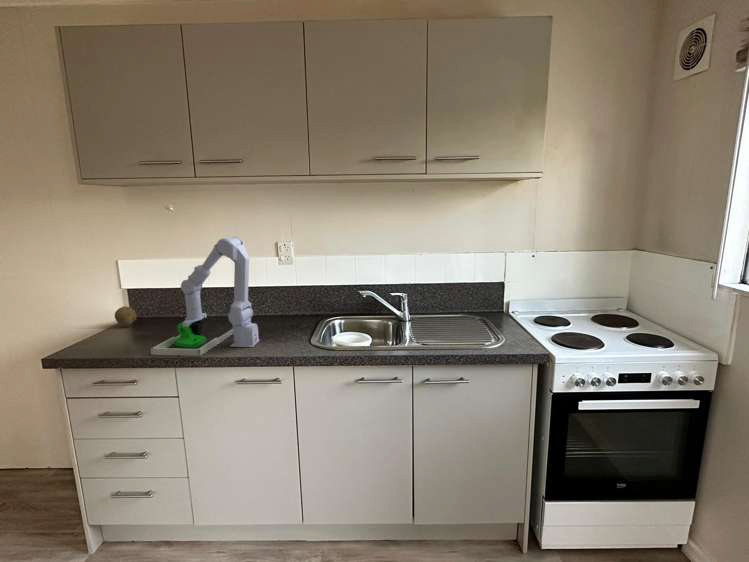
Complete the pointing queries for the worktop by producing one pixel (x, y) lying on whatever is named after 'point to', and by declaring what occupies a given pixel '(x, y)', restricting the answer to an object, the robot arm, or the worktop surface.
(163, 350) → the tray
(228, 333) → the slot rails
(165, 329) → the worktop surface
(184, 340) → the mechanical part
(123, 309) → the natural sponge
